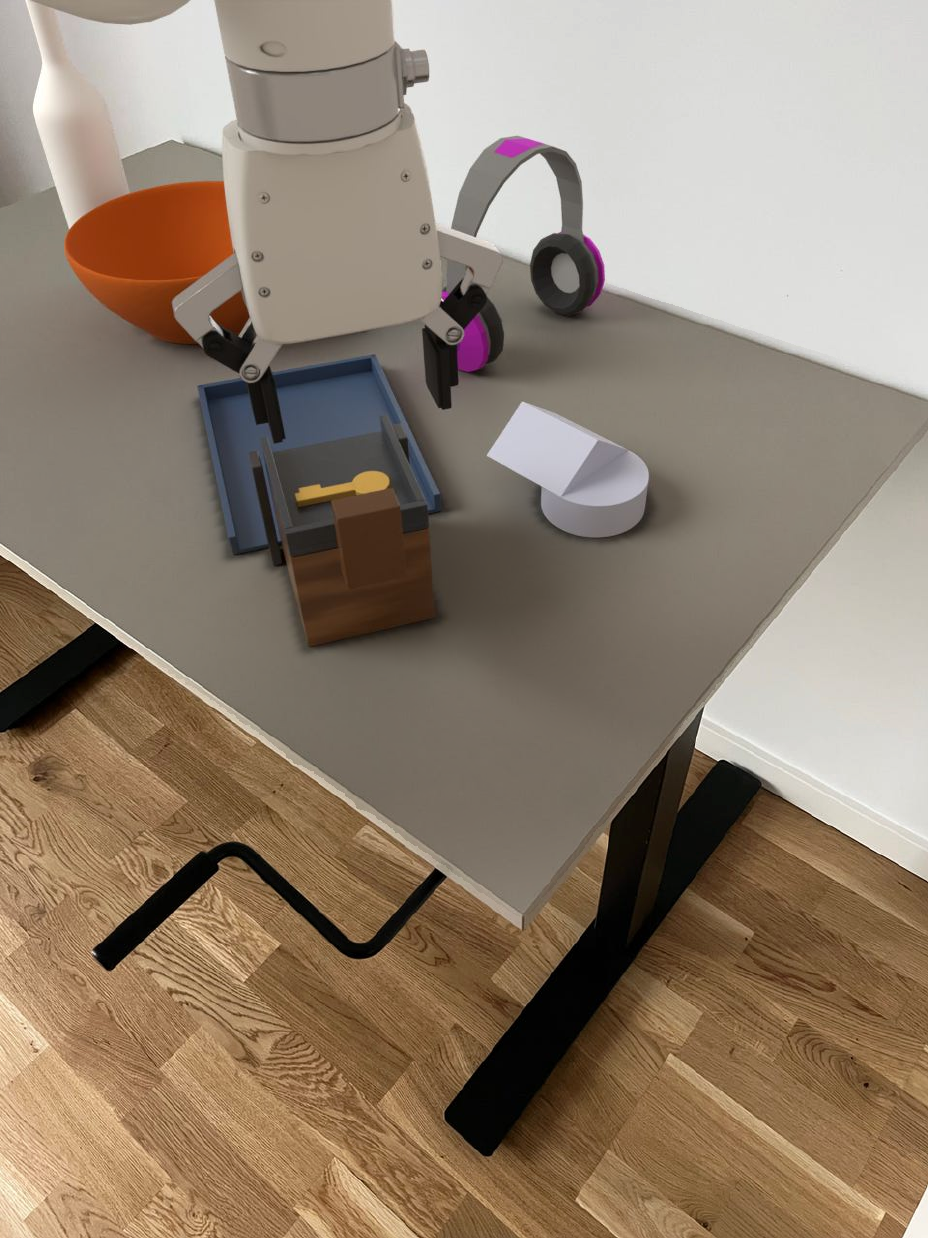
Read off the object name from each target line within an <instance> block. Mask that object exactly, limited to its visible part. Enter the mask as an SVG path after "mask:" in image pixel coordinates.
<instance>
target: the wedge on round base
mask: <svg viewBox="0 0 928 1238" xmlns="http://www.w3.org/2000/svg"><path fill="white" fill-rule="evenodd" d="M486 456H487V457H488V458H490V459H492V460H494V461H495V462H497V463H498V464H500V465H502V466H504V467H506V468H508V469H510V470H511V471H513V472H515V473H517V474H518V475H519V476H522V477H524V478H525V479H528V480H529V481H530V482H533V483H534V484H536V485H538V486H540V487H541V493H540V494H541V497H540V507H541V511H542V513H543V515H544V516H545V517H546V519H547V520H548V522H550V523H551V524H552V525H553V526H555V527H556V528H557V529H560V530H561V531H563V532H566V533H568V534H570V535H574V536H578V537H584V538H607V537H608V538H609V537H613V536H618V535H620V534H623V533H626V532H627V531H629V530H631V529H633V528H634V527H635V526H637V525H638V523H639V522H640V521H641V520H642V518H643V517H644V514H645V509H646V502H647V495H648V487H649V480H650V475H649V474H650V473H649V469H648V467H647V464H646V463H645V462H644V461H643V459H642V458H641V457H640V456H638V455H637V454H636V453H634V452H633V451H631V450H629V449H627V448H625V447H624V446H621V445H619V444H617V443H615V442H613V441H611V440H609V439H608V438H605V437H603V436H601V435H599V434H597V433H596V432H594V431H592V430H589V429H588V428H586V427H584V426H581V425H580V424H577V423H576V422H573V421H572V420H570V419H568V418H566V417H564V416H562V415H560V414H558V413H556V412H553V411H550V410H547V409H545V408H542V407H539V406H537V405H534V404H531V403H528V402H525V401H521V402H520V404H519V405H518V407H517V409H516V410H515V411H514V413H513V414H512V416H511V417H510V419H509V421H508V422H507V423H506V425H505V427H504V428H503V429H502V432H501V433H500V434H499V436H498V438H497V439H496V441H495V442H494V443H493V445H492V447H491V448H490V450H489V451H488V453H486Z"/></svg>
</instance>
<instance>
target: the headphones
mask: <svg viewBox="0 0 928 1238" xmlns="http://www.w3.org/2000/svg"><path fill="white" fill-rule="evenodd" d="M539 154H540V155H541V156H542V158H544V159H545V162H547V164H548V166H549V168H550V170H551V171H552V173H553V175H554V176H555V178H556V179H555V180H556V183H557V188H558V193H559V198H560V212H561V213H560V214H561V230H560V231H559V232H553V233H551V234H548V235H546V236H544V237H543V238H541V239H540V240H539V242H537V244H536V246H535V247H534V248H533V249H532V254H531V257H530V263H529V272H530V281H531V285H532V287H533V289H534V292H535V295H536V296H537V297H538V299H539V300H540V301H541V302H542V304H543V306H545V307H546V308H548V309H549V310H551V311H552V312H553V313H555V314H556V315H560V316H561V315H562V316H567V317H569V316H572V315H576V314H579V313H581V312H583V311H584V309H586V308H589V307H590V306H592V305H593V304H594V303H595V302H596V300H597V299H598V298H599V297H600V295H601V294H602V292H603V288H604V285H605V283H606V273H605V272H606V270H605V264H604V261H603V257H602V254H601V252H600V249H599V248H598V247H597V245H596V244H595V243H594V242H593V240H592V239H591V238H590V237H588V236H587V235H586V234H584V232H583V220H584V219H583V217H584V215H583V213H584V199H583V197H584V196H583V185H582V183H583V181H582V178H581V175H580V172H579V169H578V166H577V165H578V164H577V163H576V162H575V160H574V158H572V157H571V155H570V154H569V153H568V151H566V150H563V149H561V148H558V147H556V146H553V145H550V144H547V143H544V142H540V141H537V140H533V139H531V138H528V137H524V136H520V135H512V136H506V137H500V138H498V139H497V140H496V141H494V142H493V143H491V144H490V145H488V146H486V148H484V149H483V150H482V152H481V153H480V154H479V155H478V157H477V159H476V160H475V161H474V162H473V163H472V165H471V167H470V168H469V169H468V172H467V175H466V177H465V179H464V181H463V182H462V183H463V184H462V186H461V188H460V189H459V192H458V196H457V201H456V205H455V208H454V213H453V218H452V222H451V227H450V229H453V230H456V231H459V232H462V233H464V234H467V235H470V236H473V237H476V238H477V235H478V233H479V231H480V228H481V226H482V224H483V222H484V220H485V217H486V215H487V213H488V210H489V208H490V206H491V205H492V203H493V202H494V201H495V199H496V197H497V195H498V194H499V192H500V190H501V189H502V187H503V185H504V184H505V183H506V182H507V181H508V180H509V179H510V178H511V176H512V175H513V174H514V173H515V172H516V171H517V170H518V169H519V167H520V166H522V165H523V164H525V163H526V162H528V161H529V160H531V159H532V158H534V157H535V156H537V155H539ZM466 270H467V266H465V265H462V264H460V263H457V262H454V261H451V260H448V259H446V286H444V288H442V298H441V299H442V300H443V301H444V300H445V299H446V298H447V296H448V295H449V294H450V293H451V291H452V290H453V289H454V288H455V287H456V285H457V284H458V283H459V282H460V281H461V280H462V279H463V278H464V277H465V275H466V274H465V272H466ZM504 342H505V331H504V326H503V321H502V318H501V316H500V313H499V312H498V310H497V307H496V306H495V304H494V303H493V302H492V301H491V299H490V298H489V297H488V296H487V301H486V304H485V305H484V307H483V308H482V309H481V310H480V312H479V313H478V314H477V315H476V316H475V317H474V319H473V320H472V321H471V322H470V323H469V325H468V326H467V327H466V328H465V329H464V338H463V340H462V341H461V342H460V343H458V344H457V356H458V371H463V372H466V373H471V372H474V371H475V372H476V371H478V370H481V369H483V368H484V366H485V365H487V364H492V363H494V362H495V361H496V360H497V359H498V358H499V357H500V355H501V354H502V352H503V350H504V344H505V343H504Z"/></svg>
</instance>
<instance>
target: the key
mask: <svg viewBox="0 0 928 1238" xmlns="http://www.w3.org/2000/svg"><path fill="white" fill-rule="evenodd" d="M389 488H390V479H389V477H388V476H387V475H386V474H384V473H382V472H378V471H367V472H363V473H361V474H359V475H357V476H356V477H355V478H354V479H353V481H352V482H350V483H345V484H340V485H335V486H330V487H325V488H321V486H320V484H318V485H313V486H308V487H303V488H299V493H295V500H296V503H297V507H303V506H308V505H312V504H317V503H322V502H327V501H331V500H335V499H340V498H345V497H350V496H355V495H360V494H365V493H370V492H375V491H379V490H384V489H389Z"/></svg>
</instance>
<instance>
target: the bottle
mask: <svg viewBox="0 0 928 1238" xmlns="http://www.w3.org/2000/svg"><path fill="white" fill-rule="evenodd" d="M24 1H25V5H26V8H27V10H28V11H27V12H28V14H29V18H30V21H31V25H32V28H33V32H34V36H35V38H36V41H37V45H38V49H39V53H40V56H41V68H40V69H41V70H40V74H39V78H38V82H37V86H36V89H35V93H34V99H33V102H32V112H33V113H32V114H33V118H34V121H35V122H34V123H35V125H36V129H37V132H38V135H39V138H40V141H41V145H42V147H43V151H44V155H45V157H46V160H47V164H48V167H49V170H50V173H51V177H52V179H53V183H54V186H55V189H56V193H57V195H58V198H59V201H60V205H61V209H62V211H63V215H64V218H65V222H66V223H67V227H68V230H69V229H70V228H71V227H72V225H73V224H74V223H75V222H76V221H77V220H78V219H80V218H81V217H82V216H83V215H85V214H86V213H88V212H89V211H91V210H92V209H94V208H96V207H98V206H100V205H102V204H104V203H106V202H108V201H110V200H113V199H115V198H118V197H121V196H123V195H126V194H129V193H131V192H130V188H129V184H128V180H127V176H126V173H125V169H124V165H123V162H122V158H121V153H120V150H119V146H118V142H117V138H116V135H115V132H114V131H115V130H114V127H113V123H112V120H111V116H110V112H109V109H108V106H107V104H106V101H105V99H104V97H103V96H102V94H101V93H100V92H99V90H98V89H97V88H96V87H95V86H94V85H93V83H91V81H89V79H88V78H87V77H86V76H85V75H84V74H83V73H82V72H81V71H80V69H78V67H77V66H76V65H75V64H74V63H73V61H72V60H71V59H70V56H69V54H68V51H67V48H66V45H65V41H64V37H63V34H62V31H61V28H60V24H59V20H58V17H57V13H56V9H53V8H50V7H47V6H45V5H42V4H39V3H36V2H33V1H31V0H24Z"/></svg>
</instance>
